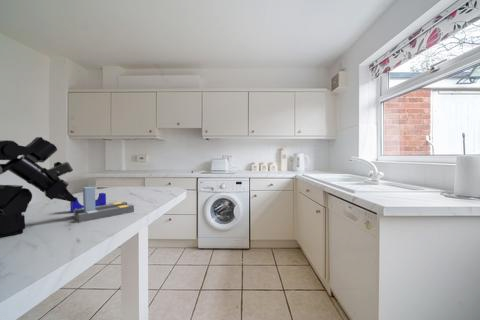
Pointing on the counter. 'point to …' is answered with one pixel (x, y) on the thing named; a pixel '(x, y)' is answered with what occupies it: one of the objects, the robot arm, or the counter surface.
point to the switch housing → (103, 211)
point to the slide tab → (89, 198)
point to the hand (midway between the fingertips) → (75, 200)
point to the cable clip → (98, 202)
